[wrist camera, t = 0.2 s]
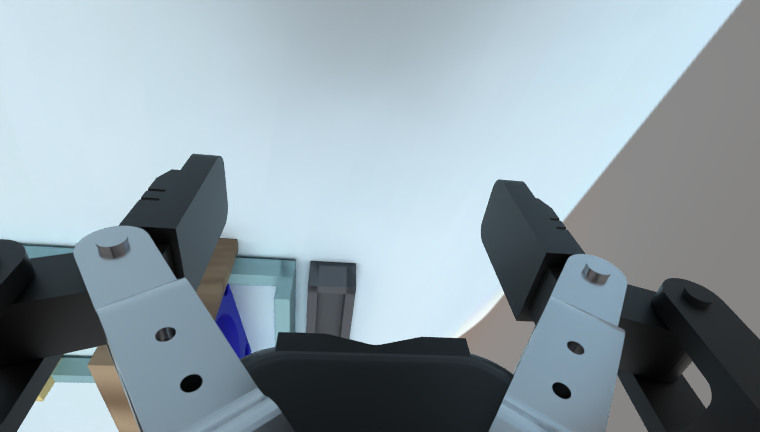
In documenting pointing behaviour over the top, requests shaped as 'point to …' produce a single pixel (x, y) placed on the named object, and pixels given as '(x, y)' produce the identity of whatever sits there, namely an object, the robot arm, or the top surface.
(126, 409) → the tunnel arch
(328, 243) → the top surface
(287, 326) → the sled
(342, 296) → the pit trough
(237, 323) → the cable clip
